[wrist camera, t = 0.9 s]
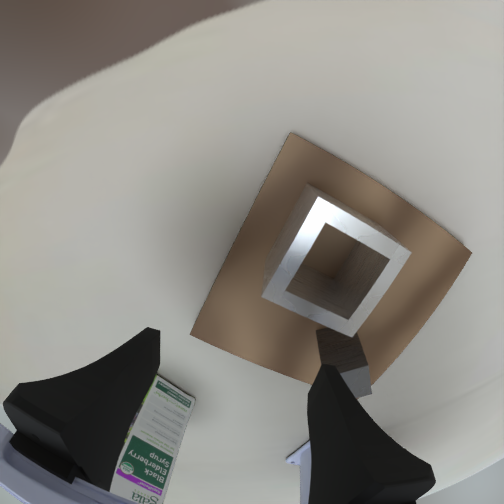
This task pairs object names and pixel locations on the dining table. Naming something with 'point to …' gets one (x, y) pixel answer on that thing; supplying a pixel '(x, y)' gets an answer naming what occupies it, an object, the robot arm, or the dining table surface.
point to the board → (325, 269)
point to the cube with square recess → (350, 274)
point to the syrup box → (152, 444)
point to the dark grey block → (345, 359)
